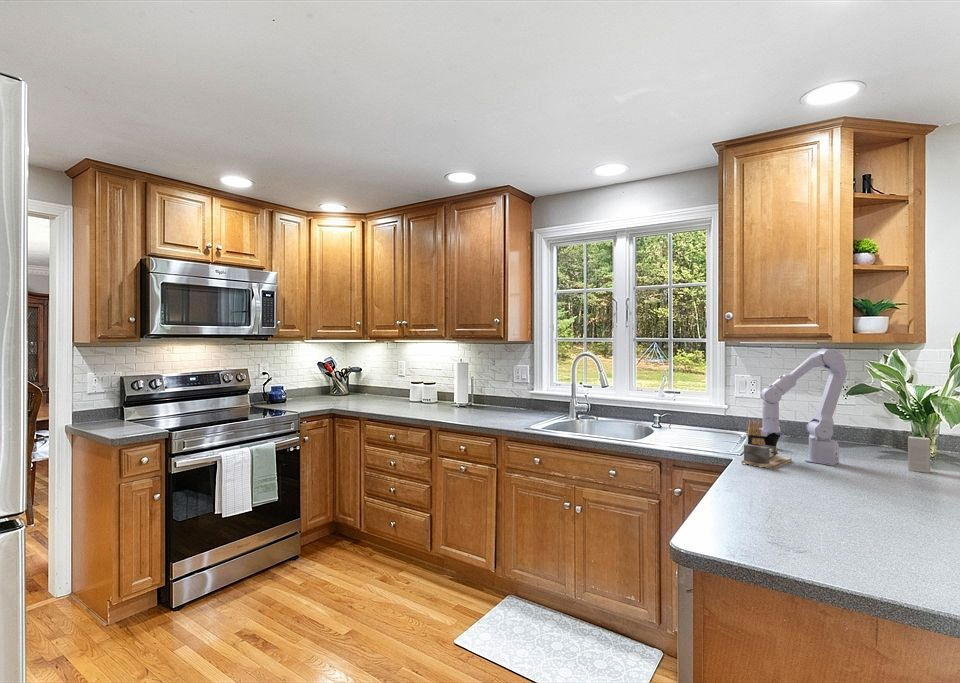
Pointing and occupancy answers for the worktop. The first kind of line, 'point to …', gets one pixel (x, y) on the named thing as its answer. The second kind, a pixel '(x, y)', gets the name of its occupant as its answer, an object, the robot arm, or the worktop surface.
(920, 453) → the skincare box
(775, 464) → the gauge bench
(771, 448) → the gauge ram
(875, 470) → the worktop surface
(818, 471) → the worktop surface
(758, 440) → the ammunition clip
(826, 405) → the robot arm
